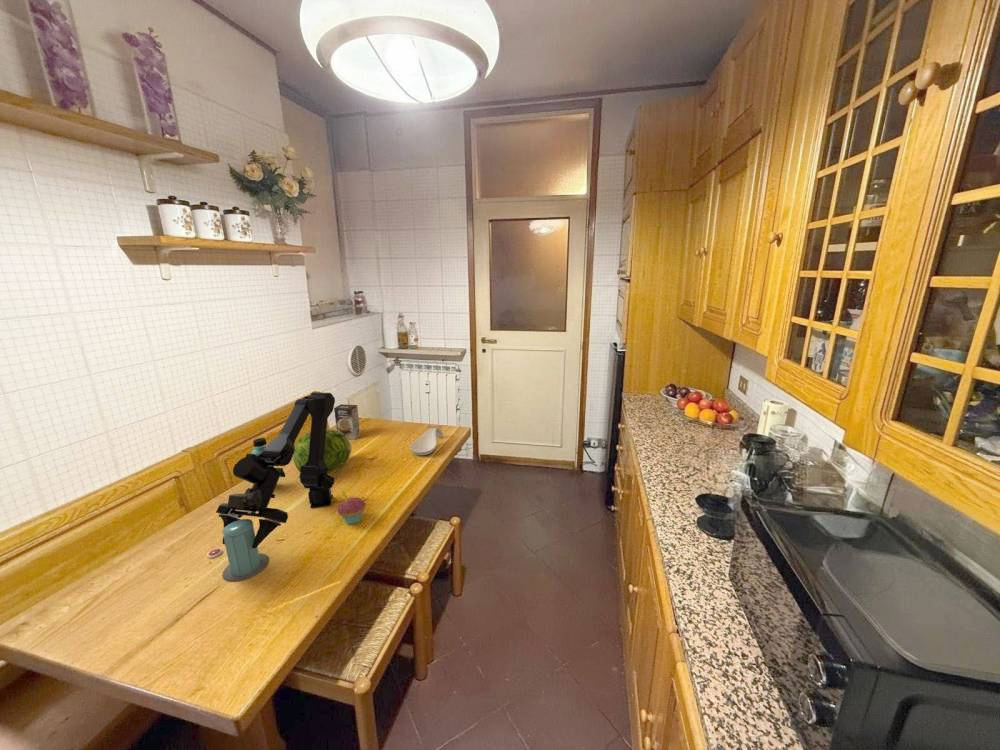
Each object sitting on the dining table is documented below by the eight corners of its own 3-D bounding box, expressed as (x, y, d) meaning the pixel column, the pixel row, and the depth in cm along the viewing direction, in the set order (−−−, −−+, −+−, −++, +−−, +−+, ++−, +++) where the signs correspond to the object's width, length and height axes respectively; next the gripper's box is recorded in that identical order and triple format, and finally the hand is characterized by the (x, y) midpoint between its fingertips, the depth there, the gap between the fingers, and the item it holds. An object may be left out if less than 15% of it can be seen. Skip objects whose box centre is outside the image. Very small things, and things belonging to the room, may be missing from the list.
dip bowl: (224, 550, 117) (223, 546, 117) (220, 558, 114) (219, 554, 113) (210, 553, 116) (209, 549, 116) (205, 561, 113) (204, 557, 112)
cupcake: (340, 530, 124) (335, 496, 122) (337, 516, 132) (333, 484, 129) (369, 522, 128) (365, 489, 125) (364, 509, 136) (360, 477, 133)
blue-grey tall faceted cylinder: (259, 555, 114) (252, 516, 111) (261, 569, 108) (253, 528, 105) (231, 564, 110) (222, 524, 107) (231, 579, 105) (222, 538, 101)
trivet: (274, 551, 116) (274, 550, 116) (262, 578, 105) (261, 577, 105) (232, 558, 113) (232, 557, 113) (215, 586, 103) (214, 585, 103)
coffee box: (337, 439, 195) (333, 408, 192) (344, 434, 202) (340, 403, 198) (354, 440, 194) (350, 408, 190) (361, 434, 200) (357, 404, 196)
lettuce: (369, 442, 170) (340, 414, 175) (327, 456, 148) (296, 423, 153) (349, 473, 175) (322, 445, 179) (306, 490, 153) (276, 458, 158)
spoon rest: (431, 459, 171) (430, 444, 170) (406, 457, 174) (404, 442, 172) (449, 438, 194) (448, 424, 192) (427, 436, 196) (426, 423, 195)
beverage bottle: (263, 484, 154) (254, 436, 149) (280, 483, 154) (272, 435, 149) (254, 493, 148) (244, 443, 143) (273, 492, 148) (263, 442, 143)
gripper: (214, 477, 109) (185, 537, 102) (273, 482, 106) (247, 545, 98) (243, 488, 119) (218, 544, 111) (298, 493, 115) (276, 551, 107)
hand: (238, 546), depth 107 cm, fingers open, 9 cm apart
